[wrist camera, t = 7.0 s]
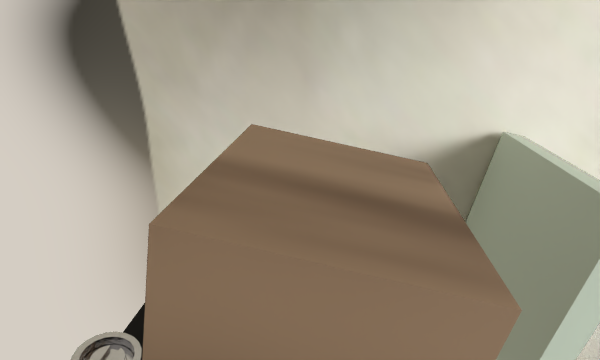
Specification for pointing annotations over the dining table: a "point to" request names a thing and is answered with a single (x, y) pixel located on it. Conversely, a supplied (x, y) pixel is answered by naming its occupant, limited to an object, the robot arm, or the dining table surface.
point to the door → (542, 247)
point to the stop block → (319, 261)
